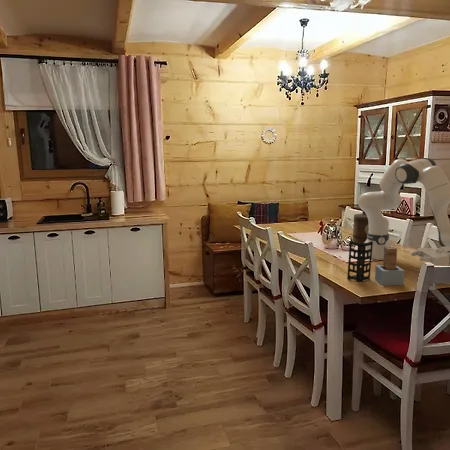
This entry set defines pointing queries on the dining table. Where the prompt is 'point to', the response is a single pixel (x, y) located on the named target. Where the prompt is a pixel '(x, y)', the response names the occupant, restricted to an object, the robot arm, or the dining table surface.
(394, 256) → the peg
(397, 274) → the box
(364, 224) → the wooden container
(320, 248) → the dining table surface
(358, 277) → the holder
